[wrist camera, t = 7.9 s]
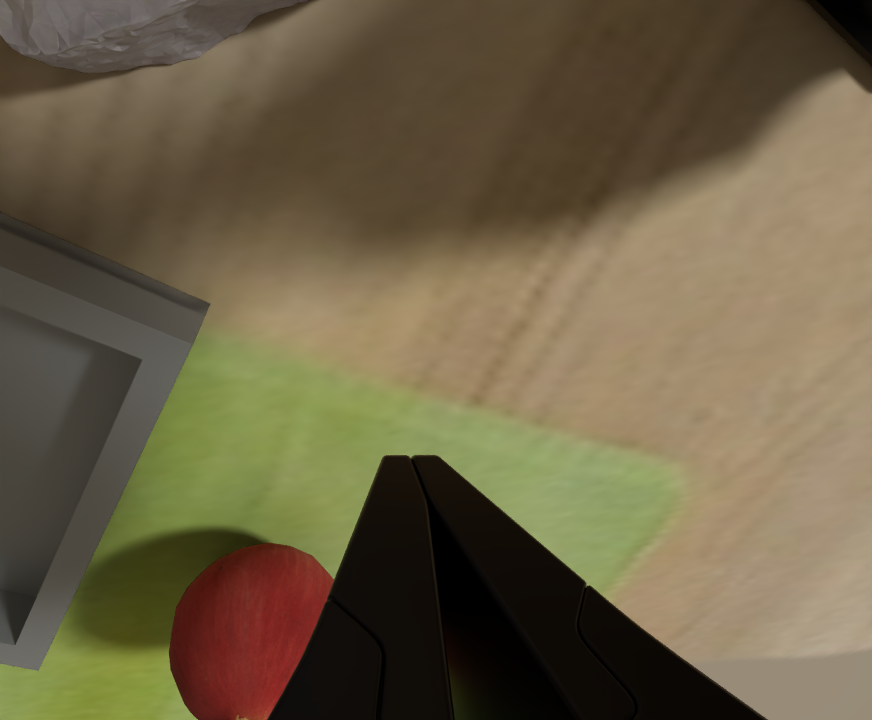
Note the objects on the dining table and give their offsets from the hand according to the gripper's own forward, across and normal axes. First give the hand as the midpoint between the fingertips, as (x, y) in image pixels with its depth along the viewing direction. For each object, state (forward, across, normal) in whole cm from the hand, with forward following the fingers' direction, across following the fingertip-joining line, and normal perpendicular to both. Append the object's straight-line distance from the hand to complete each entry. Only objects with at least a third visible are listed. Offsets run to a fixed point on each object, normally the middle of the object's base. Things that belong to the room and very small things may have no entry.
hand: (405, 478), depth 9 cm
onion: (+12, +3, +12) cm, 17 cm away
